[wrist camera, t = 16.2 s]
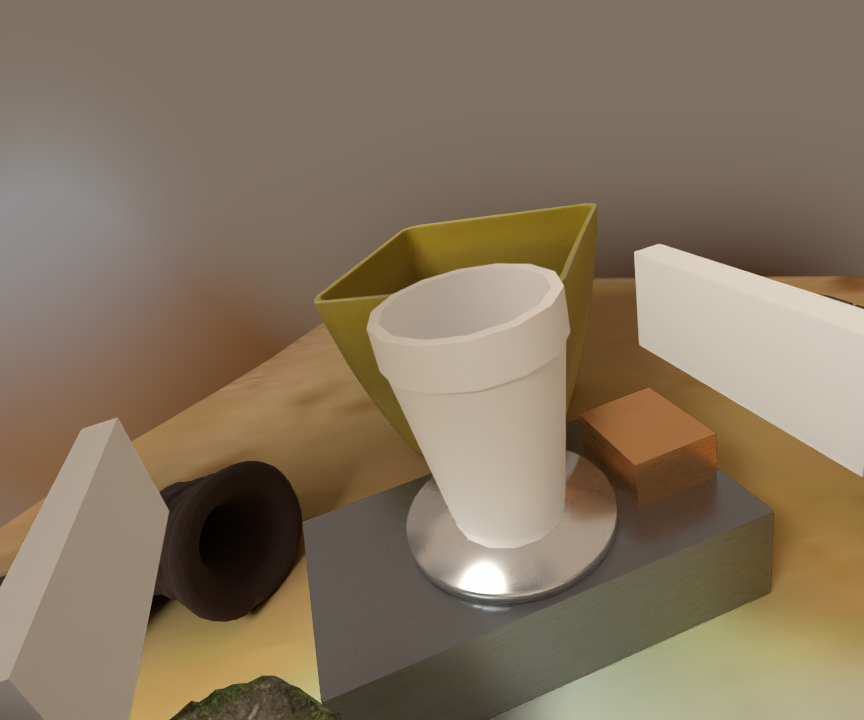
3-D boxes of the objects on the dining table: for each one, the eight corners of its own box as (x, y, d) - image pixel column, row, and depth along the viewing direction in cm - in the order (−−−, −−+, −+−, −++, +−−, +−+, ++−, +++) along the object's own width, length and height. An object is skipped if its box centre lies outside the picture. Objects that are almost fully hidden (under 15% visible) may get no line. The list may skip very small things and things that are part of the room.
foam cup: (568, 589, 27) (525, 346, 21) (401, 555, 31) (329, 346, 26) (607, 463, 34) (582, 256, 28) (467, 449, 39) (421, 268, 33)
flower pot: (615, 364, 57) (598, 198, 50) (591, 492, 42) (562, 280, 35) (441, 369, 65) (405, 226, 58) (368, 478, 50) (306, 303, 43)
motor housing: (359, 776, 28) (299, 659, 24) (330, 586, 40) (286, 486, 36) (770, 592, 32) (776, 464, 28) (634, 466, 43) (624, 363, 39)
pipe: (-31, 574, 38) (83, 586, 30) (152, 449, 50) (268, 434, 42) (50, 679, 41) (173, 716, 33) (205, 537, 53) (323, 538, 45)
